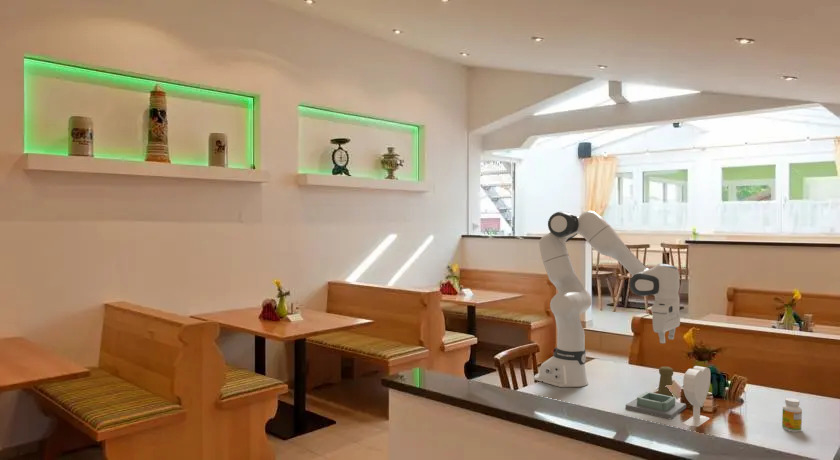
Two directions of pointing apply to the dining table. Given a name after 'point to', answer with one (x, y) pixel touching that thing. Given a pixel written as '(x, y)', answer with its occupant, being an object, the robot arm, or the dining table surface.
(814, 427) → the dining table surface
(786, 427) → the supplement bottle
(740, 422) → the dining table surface
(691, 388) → the heart sculpture
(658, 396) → the housing
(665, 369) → the olive green tapered cylinder
